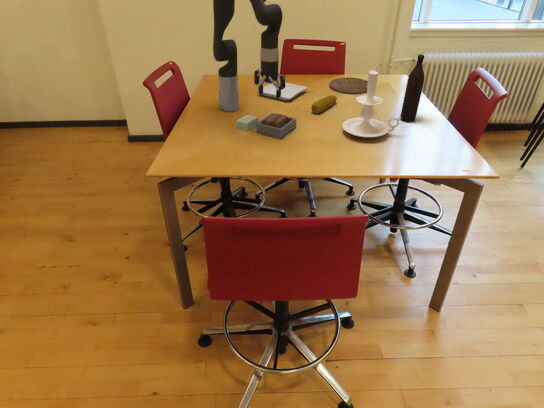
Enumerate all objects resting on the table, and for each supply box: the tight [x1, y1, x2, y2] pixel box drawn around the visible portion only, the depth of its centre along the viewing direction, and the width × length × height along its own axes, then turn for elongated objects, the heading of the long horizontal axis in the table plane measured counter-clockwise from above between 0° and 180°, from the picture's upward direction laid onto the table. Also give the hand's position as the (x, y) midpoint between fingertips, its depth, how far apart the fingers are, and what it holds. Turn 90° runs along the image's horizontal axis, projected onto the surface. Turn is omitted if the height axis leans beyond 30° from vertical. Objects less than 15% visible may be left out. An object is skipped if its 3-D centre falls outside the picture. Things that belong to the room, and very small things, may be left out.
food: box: [310, 94, 338, 114], centre depth 195 cm, size 21×6×6 cm, turn 145°
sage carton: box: [235, 114, 259, 132], centre depth 178 cm, size 6×9×4 cm, turn 145°
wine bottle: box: [399, 54, 425, 123], centre depth 175 cm, size 7×7×30 cm
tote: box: [255, 112, 297, 140], centre depth 174 cm, size 13×14×4 cm
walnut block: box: [266, 112, 288, 129], centre depth 173 cm, size 6×9×5 cm, turn 149°
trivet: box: [329, 77, 368, 95], centre depth 222 cm, size 25×25×2 cm
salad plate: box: [256, 80, 308, 101], centre depth 213 cm, size 21×21×3 cm
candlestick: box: [341, 70, 401, 139], centre depth 164 cm, size 21×25×28 cm
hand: (269, 96), depth 167 cm, fingers open, 8 cm apart
